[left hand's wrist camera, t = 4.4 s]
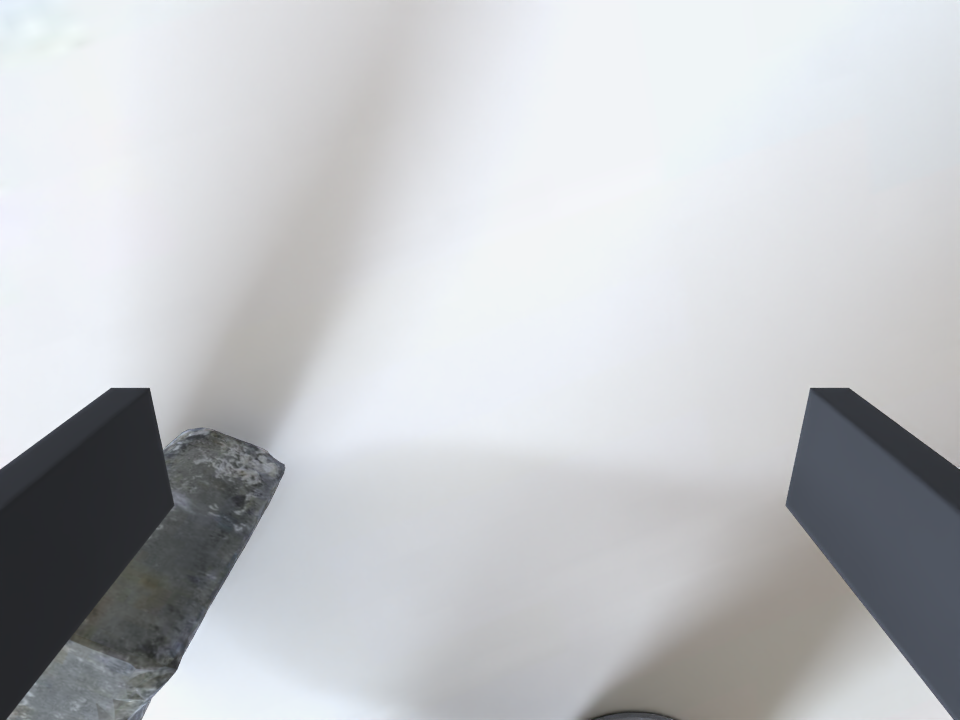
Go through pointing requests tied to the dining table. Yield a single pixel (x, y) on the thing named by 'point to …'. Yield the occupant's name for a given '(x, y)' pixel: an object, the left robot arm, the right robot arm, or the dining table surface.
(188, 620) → the concrete block
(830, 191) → the dining table surface
